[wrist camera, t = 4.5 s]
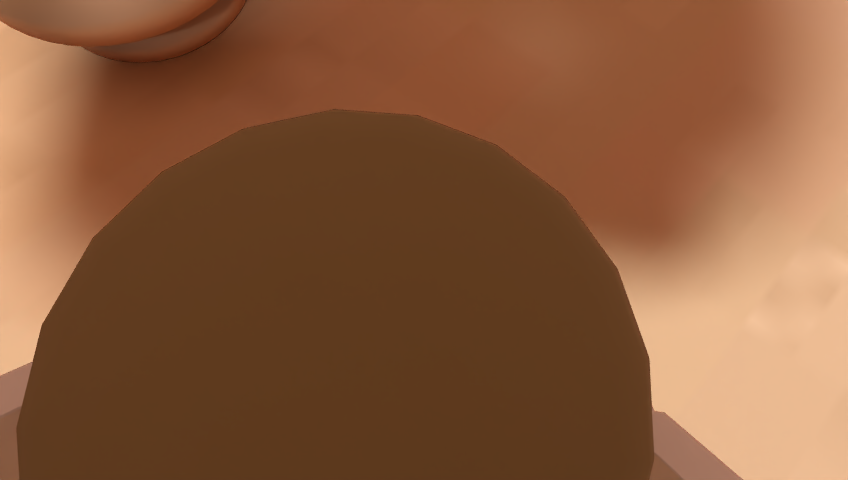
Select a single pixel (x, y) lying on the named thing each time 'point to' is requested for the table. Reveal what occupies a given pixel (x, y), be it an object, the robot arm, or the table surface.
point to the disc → (123, 24)
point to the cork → (341, 321)
